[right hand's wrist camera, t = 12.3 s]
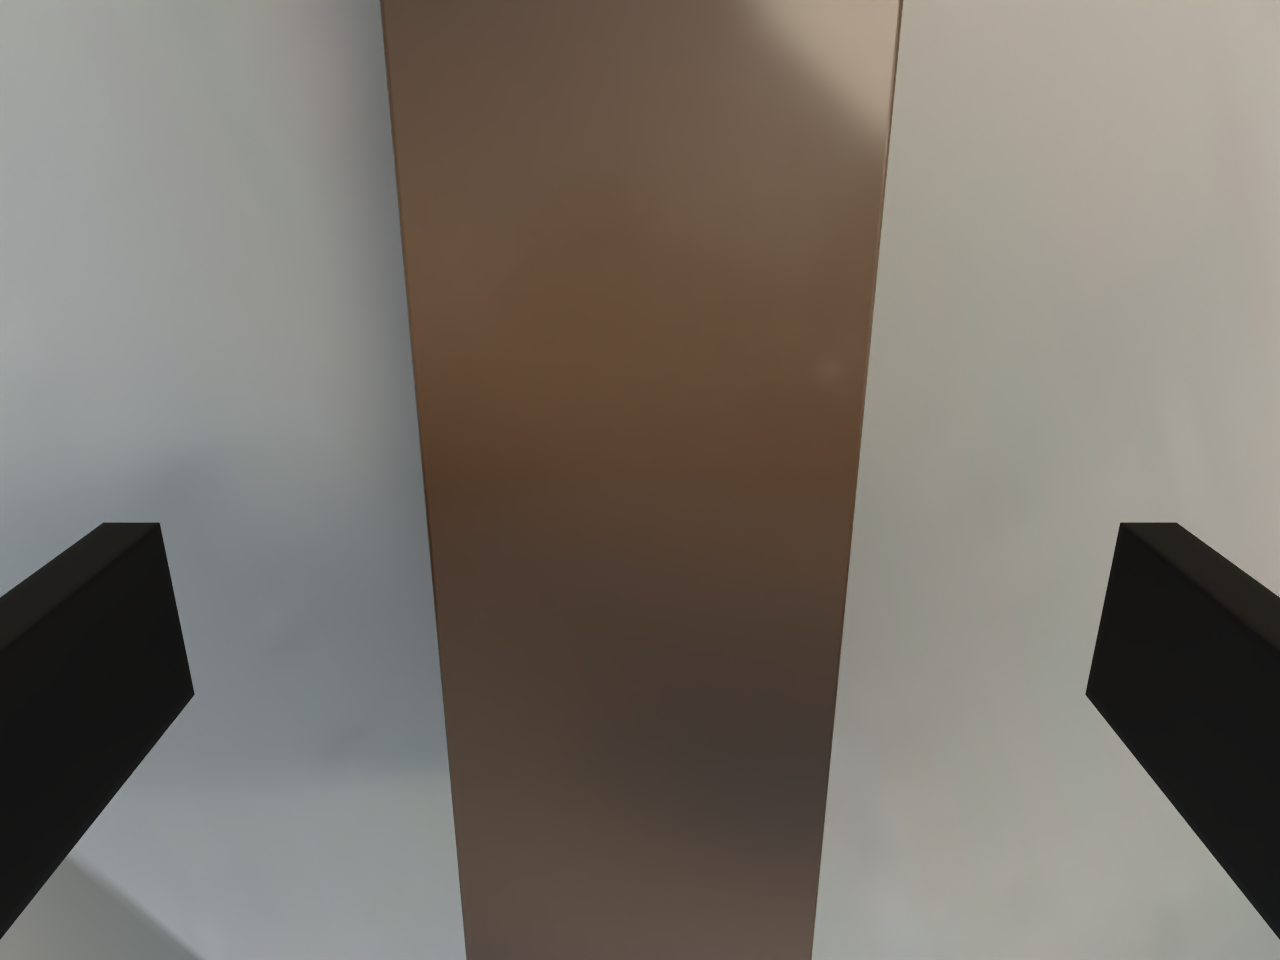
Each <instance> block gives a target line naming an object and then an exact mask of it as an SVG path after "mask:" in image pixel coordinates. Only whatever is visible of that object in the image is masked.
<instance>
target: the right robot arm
mask: <svg viewBox="0 0 1280 960" xmlns="http://www.w3.org/2000/svg"><path fill="white" fill-rule="evenodd" d="M194 695H195V694H194V689H193V684H192V680H191V675H190V670H189V665H188V660H187V655H186V650H185V645H184V640H183V635H182V630H181V625H180V621H179V616H178V611H177V606H176V601H175V596H174V591H173V586H172V581H171V576H170V571H169V566H168V561H167V557H166V552H165V547H164V542H163V537H162V532H161V527H160V523H102V524H101V525H100V526H98V527H97V528H95V529H94V530H93V531H91V532H90V533H89V534H87V535H86V536H84V537H83V538H82V539H80V540H79V541H78V542H76V543H75V544H73V545H72V546H71V547H69V548H68V549H67V550H65V551H64V552H62V553H61V554H60V555H58V556H57V557H56V558H54V559H53V560H51V561H50V562H49V563H47V564H46V565H45V566H43V567H42V568H40V569H39V570H38V571H36V572H35V573H34V574H32V575H31V576H29V577H28V578H27V579H25V580H24V581H22V582H21V583H20V584H18V585H17V586H16V587H14V588H13V589H11V590H10V591H9V592H7V593H6V594H5V595H3V596H2V597H0V939H1V938H2V937H3V935H4V934H5V933H6V932H7V930H8V929H9V928H10V927H11V925H12V924H13V923H14V921H15V920H16V919H17V918H18V916H19V915H20V914H21V913H22V911H23V910H24V909H25V908H26V906H27V905H28V904H29V903H30V901H31V900H32V899H33V898H34V896H35V895H36V894H37V892H38V891H39V890H40V889H41V887H42V886H43V885H44V884H45V882H46V881H47V880H48V879H49V877H50V876H51V875H52V874H53V872H54V871H55V870H56V869H57V867H58V866H59V865H60V863H61V862H62V861H63V860H64V858H65V857H66V856H67V855H68V853H69V852H70V851H71V850H72V848H73V847H74V846H75V845H76V843H77V842H78V841H79V840H80V838H81V837H82V836H83V835H84V833H85V832H86V831H87V829H88V828H89V827H90V826H91V824H92V823H93V822H94V821H95V819H96V818H97V817H98V816H99V814H100V813H101V812H102V811H103V809H104V808H105V807H106V806H107V804H108V803H109V802H110V800H111V799H112V798H113V797H114V795H115V794H116V793H117V792H118V790H119V789H120V788H121V787H122V785H123V784H124V783H125V782H126V780H127V779H128V778H129V777H130V775H131V774H132V773H133V771H134V770H135V769H136V768H137V766H138V765H139V764H140V763H141V761H142V760H143V759H144V758H145V756H146V755H147V754H148V753H149V751H150V750H151V749H152V748H153V746H154V745H155V744H156V743H157V741H158V740H159V739H160V737H161V736H162V735H163V734H164V732H165V731H166V730H167V729H168V727H169V726H170V725H171V724H172V722H173V721H174V720H175V719H176V717H177V716H178V715H179V714H180V712H181V711H182V710H183V708H184V707H185V706H186V705H187V703H188V702H189V701H190V700H191V698H192V697H193V696H194ZM1085 695H1086V696H1087V697H1088V698H1089V700H1090V701H1091V702H1092V703H1093V705H1094V706H1095V707H1096V708H1097V710H1098V711H1099V712H1100V714H1101V715H1102V716H1103V717H1104V719H1105V720H1106V721H1107V722H1108V724H1109V725H1110V726H1111V727H1112V729H1113V730H1114V731H1115V732H1116V734H1117V735H1118V736H1119V737H1120V739H1121V740H1122V741H1123V743H1124V744H1125V745H1126V746H1127V748H1128V749H1129V750H1130V751H1131V753H1132V754H1133V755H1134V756H1135V758H1136V759H1137V760H1138V761H1139V763H1140V764H1141V765H1142V766H1143V768H1144V769H1145V770H1146V771H1147V773H1148V774H1149V775H1150V777H1151V778H1152V779H1153V780H1154V782H1155V783H1156V784H1157V785H1158V787H1159V788H1160V789H1161V790H1162V792H1163V793H1164V794H1165V795H1166V797H1167V798H1168V799H1169V800H1170V802H1171V803H1172V804H1173V806H1174V807H1175V808H1176V809H1177V811H1178V812H1179V813H1180V814H1181V816H1182V817H1183V818H1184V819H1185V821H1186V822H1187V823H1188V824H1189V826H1190V827H1191V828H1192V829H1193V831H1194V832H1195V833H1196V835H1197V836H1198V837H1199V838H1200V840H1201V841H1202V842H1203V843H1204V845H1205V846H1206V847H1207V848H1208V850H1209V851H1210V852H1211V853H1212V855H1213V856H1214V857H1215V858H1216V860H1217V861H1218V862H1219V863H1220V865H1221V866H1222V867H1223V869H1224V870H1225V871H1226V872H1227V874H1228V875H1229V876H1230V877H1231V879H1232V880H1233V881H1234V882H1235V884H1236V885H1237V886H1238V887H1239V889H1240V890H1241V891H1242V892H1243V894H1244V895H1245V896H1246V898H1247V899H1248V900H1249V901H1250V903H1251V904H1252V905H1253V906H1254V908H1255V909H1256V910H1257V911H1258V913H1259V914H1260V915H1261V916H1262V918H1263V919H1264V920H1265V921H1266V923H1267V924H1268V925H1269V927H1270V928H1271V929H1272V930H1273V932H1274V933H1275V934H1276V935H1277V937H1278V938H1279V939H1280V597H1278V596H1277V595H1275V594H1274V593H1273V592H1271V591H1270V590H1269V589H1267V588H1266V587H1264V586H1263V585H1262V584H1260V583H1259V582H1258V581H1256V580H1255V579H1253V578H1252V577H1251V576H1249V575H1248V574H1246V573H1245V572H1244V571H1242V570H1241V569H1240V568H1238V567H1237V566H1235V565H1234V564H1233V563H1231V562H1230V561H1229V560H1227V559H1226V558H1224V557H1223V556H1222V555H1220V554H1219V553H1218V552H1216V551H1215V550H1213V549H1212V548H1211V547H1209V546H1208V545H1207V544H1205V543H1204V542H1202V541H1201V540H1200V539H1198V538H1197V537H1196V536H1194V535H1193V534H1191V533H1190V532H1189V531H1187V530H1186V529H1185V528H1183V527H1182V526H1180V525H1179V524H1178V523H1120V527H1119V532H1118V537H1117V542H1116V547H1115V552H1114V557H1113V562H1112V566H1111V571H1110V576H1109V581H1108V586H1107V591H1106V596H1105V601H1104V606H1103V611H1102V616H1101V621H1100V625H1099V630H1098V635H1097V640H1096V645H1095V650H1094V655H1093V660H1092V665H1091V670H1090V675H1089V680H1088V684H1087V689H1086V694H1085Z"/></svg>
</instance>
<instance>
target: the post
mask: <svg viewBox="0 0 1280 960" xmlns="http://www.w3.org/2000/svg"><path fill="white" fill-rule="evenodd" d="M902 8H903V0H380V10H381V21H382V32H383V43H384V54H385V65H386V76H387V87H388V98H389V109H390V120H391V131H392V142H393V153H394V164H395V175H396V186H397V197H398V208H399V219H400V230H401V241H402V252H403V263H404V274H405V285H406V296H407V308H408V319H409V330H410V341H411V352H412V363H413V374H414V385H415V396H416V407H417V418H418V429H419V440H420V451H421V462H422V473H423V484H424V495H425V506H426V517H427V528H428V539H429V550H430V561H431V572H432V583H433V595H434V606H435V617H436V628H437V639H438V650H439V661H440V672H441V683H442V694H443V705H444V716H445V727H446V738H447V749H448V760H449V771H450V782H451V793H452V804H453V815H454V826H455V837H456V848H457V859H458V870H459V882H460V893H461V904H462V915H463V926H464V937H465V948H466V959H467V960H811V958H812V947H813V937H814V927H815V916H816V906H817V895H818V885H819V874H820V864H821V853H822V843H823V833H824V822H825V812H826V801H827V791H828V780H829V770H830V759H831V749H832V739H833V728H834V718H835V707H836V697H837V686H838V676H839V665H840V655H841V645H842V634H843V624H844V613H845V603H846V592H847V582H848V571H849V561H850V551H851V540H852V530H853V519H854V509H855V498H856V488H857V477H858V467H859V457H860V446H861V436H862V425H863V415H864V404H865V394H866V384H867V373H868V363H869V352H870V342H871V331H872V321H873V310H874V300H875V290H876V279H877V269H878V258H879V248H880V237H881V227H882V216H883V206H884V196H885V185H886V175H887V164H888V154H889V143H890V133H891V122H892V112H893V102H894V91H895V81H896V70H897V60H898V49H899V39H900V28H901V18H902Z"/></svg>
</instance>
